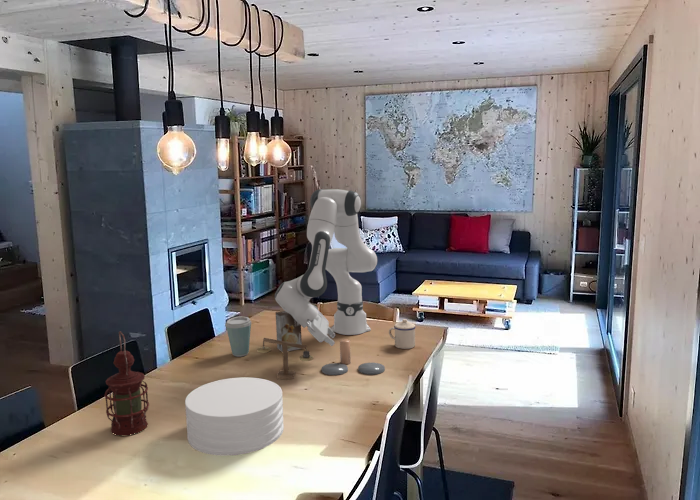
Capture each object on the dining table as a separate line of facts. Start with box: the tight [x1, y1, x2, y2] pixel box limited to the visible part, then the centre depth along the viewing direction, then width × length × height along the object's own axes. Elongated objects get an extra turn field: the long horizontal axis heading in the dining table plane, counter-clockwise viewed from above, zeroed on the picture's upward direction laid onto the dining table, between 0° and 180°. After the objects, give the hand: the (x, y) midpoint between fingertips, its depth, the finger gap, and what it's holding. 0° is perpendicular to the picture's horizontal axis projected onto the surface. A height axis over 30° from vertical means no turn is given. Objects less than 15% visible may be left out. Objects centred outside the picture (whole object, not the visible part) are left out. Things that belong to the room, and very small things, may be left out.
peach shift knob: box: [339, 338, 351, 366], centre depth 224 cm, size 4×4×9 cm
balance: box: [256, 337, 314, 380], centre depth 211 cm, size 6×21×15 cm, turn 90°
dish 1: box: [321, 362, 349, 376], centre depth 217 cm, size 10×10×1 cm
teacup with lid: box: [388, 318, 416, 350], centre depth 243 cm, size 12×9×12 cm
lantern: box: [104, 330, 150, 436], centre depth 170 cm, size 12×12×30 cm
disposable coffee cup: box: [224, 315, 253, 358], centre depth 235 cm, size 11×11×15 cm
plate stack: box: [184, 376, 285, 456], centre depth 169 cm, size 28×28×12 cm
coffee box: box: [275, 310, 303, 353], centre depth 241 cm, size 9×6×16 cm
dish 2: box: [357, 362, 386, 376], centre depth 217 cm, size 10×10×1 cm
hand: (333, 340), depth 223 cm, fingers open, 8 cm apart
